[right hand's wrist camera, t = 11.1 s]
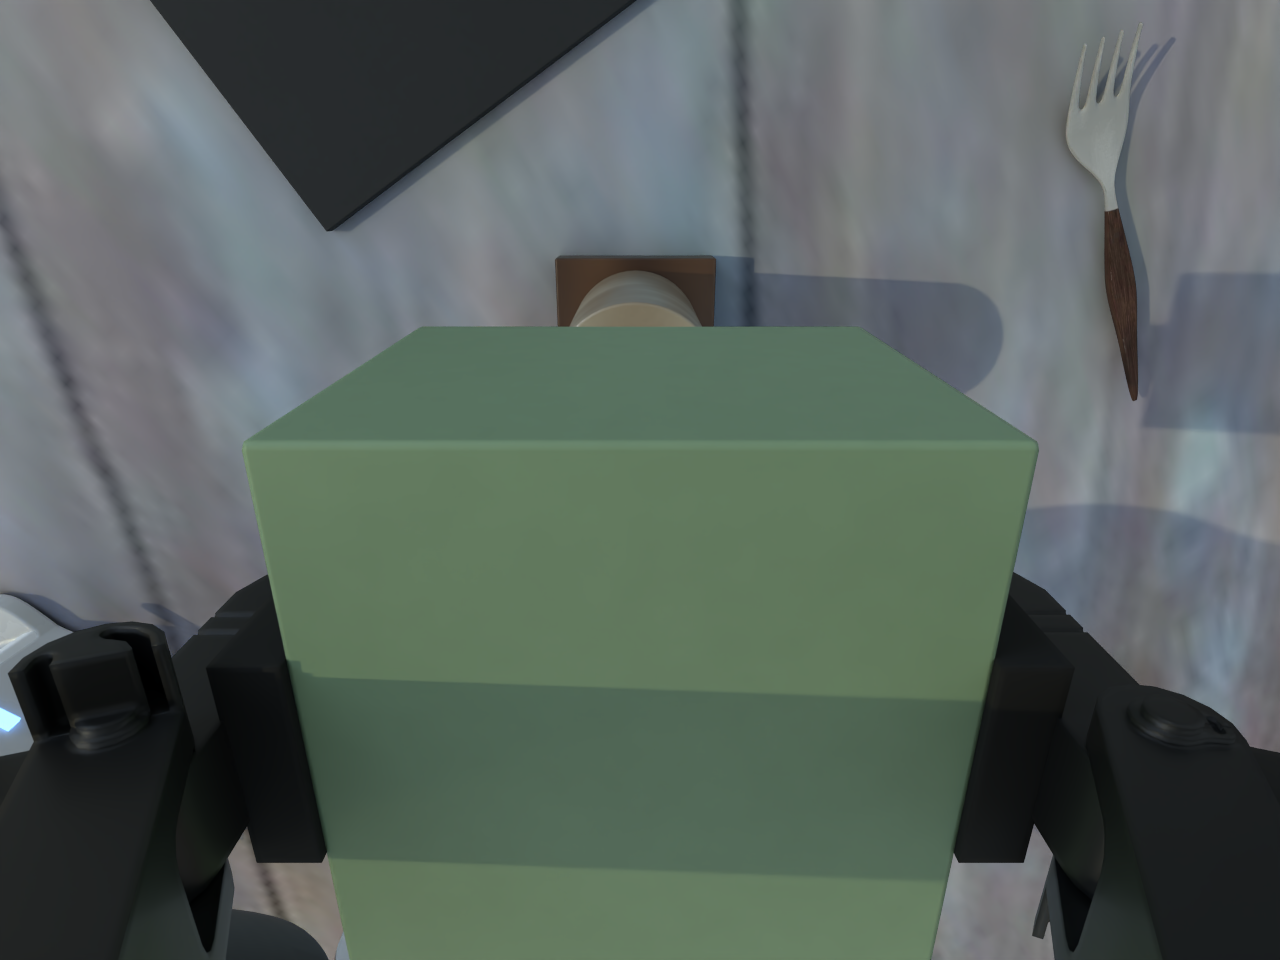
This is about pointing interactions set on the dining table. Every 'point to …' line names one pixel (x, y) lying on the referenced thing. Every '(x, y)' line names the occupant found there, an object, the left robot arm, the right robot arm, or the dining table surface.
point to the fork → (1109, 188)
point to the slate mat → (371, 77)
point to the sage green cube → (640, 638)
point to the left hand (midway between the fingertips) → (637, 721)
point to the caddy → (635, 291)
